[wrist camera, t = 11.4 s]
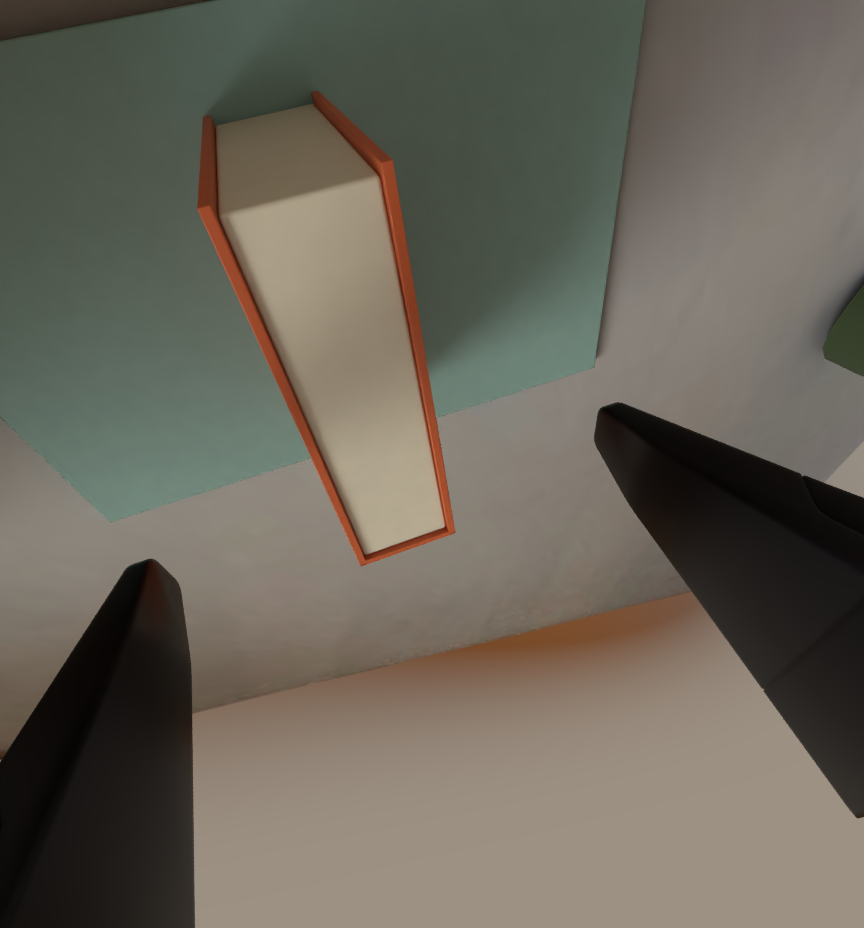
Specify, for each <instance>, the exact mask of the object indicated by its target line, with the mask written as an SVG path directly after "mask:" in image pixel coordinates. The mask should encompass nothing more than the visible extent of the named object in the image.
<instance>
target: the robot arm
mask: <svg viewBox="0 0 864 928" xmlns="http://www.w3.org/2000/svg"><path fill="white" fill-rule="evenodd" d="M594 441H595V444H596V447H597V449H598V451H599V452H600V454H601V456H602V458H603V460H604V461H605V463H606V465H607V467H608V468H609V470H610V472H611V474H612V476H613V477H614V479H615V481H616V483H617V484H618V486H619V488H620V490H621V492H622V493H623V495H624V497H625V498H626V500H627V502H628V503H629V505H630V507H631V508H632V509H633V511H634V512H635V514H636V515H637V517H638V518H639V519H640V521H641V522H642V523H643V525H644V526H645V528H646V529H647V530H648V532H649V533H650V535H651V536H652V537H653V539H654V540H655V541H656V543H657V544H658V546H659V547H660V548H661V550H662V551H663V552H664V554H665V555H666V557H667V558H668V559H669V561H670V562H671V564H672V565H673V566H674V568H675V569H676V570H677V572H678V573H679V575H680V576H681V577H682V579H683V580H684V581H685V583H686V584H687V586H688V587H689V588H690V590H691V591H692V593H693V594H694V595H695V597H696V598H697V599H698V601H699V602H700V603H701V605H702V606H703V608H704V609H705V610H706V612H707V613H708V615H709V616H710V617H711V619H712V620H713V622H714V623H715V624H716V626H717V627H718V628H719V630H720V631H721V633H722V634H723V635H724V637H725V638H726V639H727V641H728V642H729V644H730V645H731V646H732V648H733V649H734V651H735V652H736V653H737V655H738V656H739V657H740V659H741V660H742V662H743V663H744V664H745V666H746V667H747V668H748V670H749V671H750V673H751V674H752V675H753V677H754V678H755V679H756V681H757V682H758V684H759V685H760V686H761V688H763V689H764V692H765V694H766V695H767V696H768V698H769V699H770V701H771V702H772V703H773V705H774V706H775V708H776V709H777V710H778V712H779V713H780V715H781V716H782V717H783V719H784V720H785V721H786V723H787V724H788V725H789V727H790V728H791V729H792V731H793V732H794V734H795V735H796V737H797V738H798V739H799V741H800V742H801V743H802V745H803V746H804V748H805V749H806V750H807V752H808V753H809V754H810V756H811V757H812V759H813V760H814V761H815V762H816V764H817V766H818V767H819V768H820V770H821V771H822V772H823V774H824V775H825V777H826V778H827V779H828V781H829V782H830V784H831V785H832V786H833V788H834V789H835V790H836V792H837V793H838V795H839V796H840V797H841V799H842V800H843V801H844V803H845V804H846V805H847V807H848V808H849V809H850V811H851V812H852V813H853V814H854V815H855V817H856V818H861V817H864V498H863V497H860V496H857V495H855V494H852V493H849V492H847V491H844V490H841V489H839V488H836V487H833V486H831V485H828V484H826V483H823V482H820V481H818V480H815V479H813V478H810V477H808V476H802V475H801V474H800V473H797V472H795V471H792V470H790V469H787V468H785V467H782V466H780V465H777V464H775V463H772V462H770V461H767V460H765V459H762V458H760V457H757V456H755V455H752V454H750V453H747V452H745V451H742V450H739V449H737V448H734V447H732V446H729V445H727V444H724V443H722V442H719V441H717V440H714V439H712V438H709V437H707V436H704V435H702V434H699V433H697V432H694V431H692V430H689V429H687V428H684V427H681V426H679V425H676V424H674V423H671V422H669V421H666V420H664V419H661V418H659V417H656V416H654V415H651V414H649V413H646V412H644V411H641V410H639V409H636V408H634V407H631V406H629V405H626V404H623V403H619V402H617V403H613V404H610V405H607V406H604V407H602V408H600V410H599V411H598V415H597V421H596V428H595V434H594ZM192 746H193V745H192V675H191V660H190V651H189V644H188V637H187V630H186V623H185V616H184V608H183V601H182V594H181V589H180V586H179V584H178V582H177V580H176V579H175V578H174V577H173V576H172V575H171V574H170V573H169V572H168V571H167V570H166V569H165V568H164V567H163V566H162V565H161V564H160V563H159V562H157V561H156V560H154V559H147V560H144V561H141V562H138V563H135V564H132V565H130V566H128V567H127V568H126V570H125V571H124V572H123V574H122V575H121V577H120V579H119V580H118V582H117V583H116V585H115V586H114V588H113V589H112V591H111V592H110V594H109V595H108V597H107V599H106V600H105V602H104V603H103V605H102V606H101V608H100V609H99V611H98V612H97V614H96V615H95V617H94V619H93V620H92V622H91V623H90V625H89V626H88V628H87V629H86V631H85V632H84V634H83V635H82V637H81V639H80V640H79V642H78V643H77V645H76V646H75V648H74V649H73V651H72V652H71V654H70V655H69V657H68V659H67V660H66V662H65V663H64V665H63V666H62V668H61V669H60V671H59V672H58V674H57V675H56V677H55V679H54V680H53V682H52V683H51V685H50V686H49V688H48V689H47V691H46V692H45V694H44V696H43V697H42V699H41V700H40V702H39V703H38V705H37V706H36V708H35V709H34V711H33V712H32V714H31V716H30V717H29V719H28V720H27V722H26V723H25V725H24V726H23V728H22V729H21V731H20V732H19V734H18V736H17V737H16V739H15V740H14V742H13V743H12V745H11V746H10V748H9V749H8V751H7V752H6V754H5V756H4V757H3V759H2V760H1V762H0V928H195V900H194V825H193V824H194V823H193V748H192Z"/></svg>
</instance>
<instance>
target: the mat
mask: <svg viewBox="0 0 864 928" xmlns="http://www.w3.org/2000/svg"><path fill="white" fill-rule="evenodd" d="M645 6H646V0H209V1H204V2H198V3H193V4H188V5H183V6H178V7H172V8H167V9H162V10H157V11H152V12H146V13H141V14H136V15H131V16H125V17H120V18H115V19H110V20H105V21H99V22H94V23H89V24H84V25H79V26H73V27H68V28H63V29H58V30H53V31H47V32H42V33H37V34H32V35H27V36H21V37H16V38H11V39H6V40H1V41H0V417H1V418H2V419H3V420H4V421H5V422H6V423H7V424H8V425H9V426H10V427H11V428H12V429H13V430H14V431H15V432H16V433H17V434H18V435H19V436H21V437H22V438H23V439H24V440H25V441H26V442H27V443H28V444H29V445H30V446H31V447H32V448H33V449H34V450H35V451H36V452H37V453H38V454H39V455H40V456H41V457H42V458H44V459H45V460H46V461H47V462H48V463H49V464H50V465H51V466H52V467H53V468H54V469H55V470H56V471H57V472H58V473H59V474H60V475H61V476H62V477H63V478H64V479H66V480H67V481H68V482H69V483H70V484H71V485H72V486H73V487H74V488H75V489H76V490H77V491H78V492H79V493H80V494H81V495H82V496H83V497H84V498H85V499H86V500H87V501H89V502H90V503H91V504H92V505H93V506H94V507H95V508H96V509H97V510H98V511H99V512H100V513H101V514H102V515H103V516H104V517H105V518H106V519H107V520H108V521H109V522H113V521H116V520H119V519H122V518H125V517H128V516H131V515H134V514H138V513H141V512H144V511H147V510H150V509H153V508H156V507H159V506H163V505H166V504H169V503H172V502H175V501H178V500H181V499H184V498H187V497H191V496H194V495H197V494H200V493H203V492H206V491H209V490H212V489H216V488H219V487H222V486H225V485H228V484H231V483H234V482H237V481H241V480H244V479H247V478H250V477H253V476H256V475H259V474H262V473H266V472H269V471H272V470H275V469H278V468H281V467H284V466H287V465H290V464H294V463H297V462H300V461H303V460H306V459H309V458H311V457H310V454H309V452H308V450H307V448H306V446H305V444H304V441H303V439H302V437H301V435H300V433H299V430H298V428H297V426H296V424H295V422H294V420H293V417H292V415H291V413H290V411H289V409H288V406H287V404H286V402H285V400H284V398H283V396H282V393H281V391H280V389H279V387H278V385H277V382H276V380H275V378H274V376H273V374H272V372H271V369H270V367H269V365H268V363H267V361H266V358H265V356H264V354H263V352H262V350H261V347H260V345H259V343H258V341H257V339H256V337H255V334H254V332H253V330H252V328H251V326H250V323H249V321H248V319H247V317H246V315H245V313H244V310H243V308H242V306H241V304H240V302H239V299H238V297H237V295H236V293H235V291H234V289H233V286H232V284H231V282H230V280H229V278H228V275H227V273H226V271H225V269H224V267H223V265H222V262H221V260H220V258H219V256H218V254H217V251H216V249H215V247H214V245H213V243H212V241H211V238H210V236H209V234H208V232H207V230H206V227H205V225H204V223H203V221H202V219H201V217H200V214H199V212H198V210H197V203H198V187H199V171H200V155H201V139H202V124H203V117H204V116H209V115H210V116H211V118H212V120H213V123H214V126H215V128H216V126H217V125H221V124H226V123H230V122H235V121H239V120H243V119H248V118H252V117H256V116H261V115H265V114H270V113H274V112H278V111H283V110H287V109H291V108H296V107H300V106H305V105H309V104H314V102H313V98H312V94H311V93H312V92H315V91H319V92H320V93H321V94H322V95H323V96H324V97H325V98H326V99H328V100H329V101H330V102H331V103H332V104H333V105H334V106H335V107H336V108H337V109H338V110H339V111H341V112H342V113H343V114H344V115H345V116H346V117H347V118H348V119H349V120H350V121H351V122H352V123H354V124H355V125H356V126H357V127H358V128H359V129H360V130H361V131H362V132H363V133H364V134H365V135H366V136H368V137H369V138H370V139H371V140H372V141H373V142H374V143H375V144H376V145H377V146H378V147H379V148H381V149H382V150H383V151H384V152H385V153H386V154H387V155H388V156H389V157H390V158H391V159H392V160H393V163H394V169H395V175H396V181H397V187H398V193H399V199H400V205H401V211H402V217H403V223H404V229H405V235H406V241H407V247H408V253H409V259H410V265H411V271H412V277H413V283H414V289H415V295H416V301H417V307H418V313H419V319H420V325H421V331H422V337H423V343H424V349H425V355H426V361H427V367H428V373H429V379H430V385H431V391H432V397H433V403H434V408H435V414H436V418H437V417H440V416H443V415H447V414H450V413H453V412H456V411H459V410H462V409H465V408H468V407H471V406H475V405H478V404H481V403H484V402H487V401H490V400H493V399H496V398H500V397H503V396H506V395H509V394H512V393H515V392H518V391H521V390H525V389H528V388H531V387H534V386H537V385H540V384H543V383H546V382H550V381H553V380H556V379H559V378H562V377H565V376H568V375H571V374H574V373H578V372H581V371H584V370H587V369H590V368H593V367H594V365H595V358H596V351H597V344H598V337H599V330H600V323H601V316H602V309H603V302H604V295H605V288H606V280H607V273H608V266H609V259H610V252H611V245H612V238H613V231H614V224H615V217H616V210H617V203H618V196H619V189H620V182H621V175H622V168H623V161H624V154H625V147H626V140H627V133H628V126H629V119H630V112H631V105H632V98H633V91H634V83H635V76H636V69H637V62H638V55H639V48H640V41H641V34H642V27H643V20H644V13H645Z"/></svg>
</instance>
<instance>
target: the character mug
mask: <svg viewBox="0 0 864 928" xmlns="http://www.w3.org/2000/svg"><path fill="white" fill-rule="evenodd" d="M823 352H824V356H825V359H827V360H829V361H831V362H833V363H836V364H838V365H840V366H842V367H844V368H846V369H848V370H850V371H852V372H854V373H857V374H859V375H861V376H864V285H863V286H862V287H861V288H860V290H859V291H858V292H857V294H856V295H855V296H854V298H853V299H852V300H851V301H850V303H849V304H848V306H847V307H846V308H845V310H844V311H843V313H842V314H841V316H840V317H839V318H838V320H837V321H836V323H835V324H834V325H833V327H832V328H831V330H830V333H829V335H828V337H827V339H826V341H825V343H824V346H823Z"/></svg>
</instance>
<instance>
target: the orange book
mask: <svg viewBox="0 0 864 928" xmlns="http://www.w3.org/2000/svg"><path fill="white" fill-rule="evenodd" d="M311 94H312V98H313V102H314V104H309V105H305V106H300V107H296V108H291V109H287V110H283V111H278V112H274V113H270V114H265V115H261V116H256V117H252V118H248V119H243V120H239V121H235V122H230V123H226V124H221V125H217V126H216V128H215V126H214V123H213V120H212V118H211V116H210V115H209V116H204V117H203V124H202V139H201V155H200V171H199V187H198V203H197V210H198V212H199V214H200V217H201V219H202V221H203V223H204V225H205V227H206V230H207V232H208V234H209V236H210V238H211V241H212V243H213V245H214V247H215V249H216V251H217V254H218V256H219V258H220V260H221V262H222V265H223V267H224V269H225V271H226V273H227V275H228V278H229V280H230V282H231V284H232V286H233V289H234V291H235V293H236V295H237V297H238V299H239V302H240V304H241V306H242V308H243V310H244V313H245V315H246V317H247V319H248V321H249V323H250V326H251V328H252V330H253V332H254V334H255V337H256V339H257V341H258V343H259V345H260V347H261V350H262V352H263V354H264V356H265V358H266V361H267V363H268V365H269V367H270V369H271V372H272V374H273V376H274V378H275V380H276V382H277V385H278V387H279V389H280V391H281V393H282V396H283V398H284V400H285V402H286V404H287V406H288V409H289V411H290V413H291V415H292V417H293V420H294V422H295V424H296V426H297V428H298V430H299V433H300V435H301V437H302V439H303V441H304V444H305V446H306V448H307V450H308V452H309V454H310V457H311V459H312V461H313V463H314V465H315V468H316V470H317V472H318V474H319V476H320V478H321V481H322V483H323V485H324V487H325V489H326V492H327V494H328V496H329V498H330V500H331V502H332V505H333V507H334V509H335V511H336V513H337V516H338V518H339V520H340V522H341V524H342V527H343V529H344V531H345V533H346V535H347V537H348V540H349V542H350V544H351V546H352V548H353V551H354V553H355V555H356V557H357V559H358V561H359V564H360V566H363V565H366V564H369V563H372V562H375V561H378V560H380V559H383V558H386V557H389V556H392V555H394V554H397V553H400V552H403V551H406V550H408V549H411V548H414V547H417V546H420V545H422V544H425V543H428V542H431V541H434V540H437V539H439V538H442V537H445V536H448V535H451V534H453V533H455V528H454V522H453V516H452V510H451V504H450V498H449V492H448V486H447V480H446V474H445V468H444V462H443V456H442V450H441V444H440V438H439V432H438V426H437V420H436V414H435V408H434V403H433V397H432V391H431V385H430V379H429V373H428V367H427V361H426V355H425V349H424V343H423V337H422V331H421V325H420V319H419V313H418V307H417V301H416V295H415V289H414V283H413V277H412V271H411V265H410V259H409V253H408V247H407V241H406V235H405V229H404V223H403V217H402V211H401V205H400V199H399V193H398V187H397V181H396V175H395V169H394V163H393V160H392V159H391V158H390V157H389V156H388V155H387V154H386V153H385V152H384V151H383V150H382V149H381V148H379V147H378V146H377V145H376V144H375V143H374V142H373V141H372V140H371V139H370V138H369V137H368V136H366V135H365V134H364V133H363V132H362V131H361V130H360V129H359V128H358V127H357V126H356V125H355V124H354V123H352V122H351V121H350V120H349V119H348V118H347V117H346V116H345V115H344V114H343V113H342V112H341V111H339V110H338V109H337V108H336V107H335V106H334V105H333V104H332V103H331V102H330V101H329V100H328V99H326V98H325V97H324V96H323V95H322V94H321V93H320V92H319V91H315V92H312V93H311Z"/></svg>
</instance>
